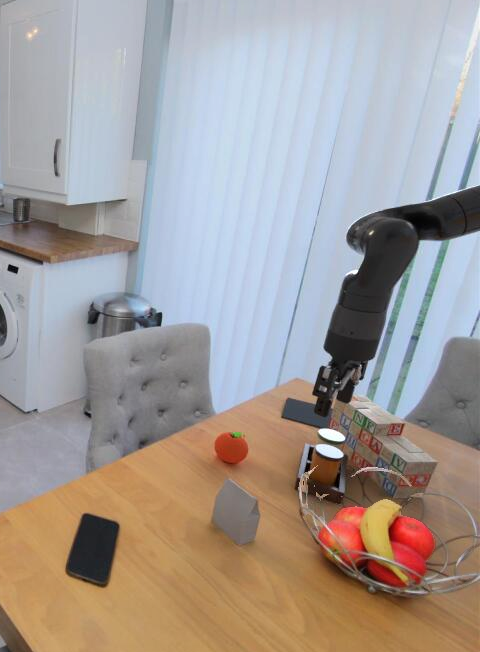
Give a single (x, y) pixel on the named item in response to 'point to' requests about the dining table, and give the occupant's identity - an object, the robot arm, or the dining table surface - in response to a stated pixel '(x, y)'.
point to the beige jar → (329, 439)
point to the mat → (305, 413)
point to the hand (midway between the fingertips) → (332, 408)
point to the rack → (319, 487)
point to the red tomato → (231, 447)
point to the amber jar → (325, 464)
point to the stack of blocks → (381, 446)
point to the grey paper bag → (236, 513)
